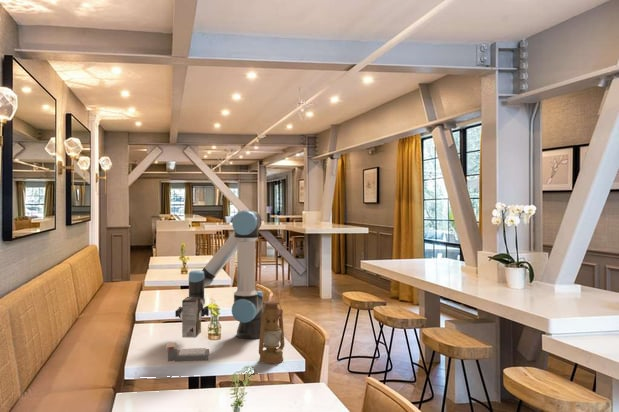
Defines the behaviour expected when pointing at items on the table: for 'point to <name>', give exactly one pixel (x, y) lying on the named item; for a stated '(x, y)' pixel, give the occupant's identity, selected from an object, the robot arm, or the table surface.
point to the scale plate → (192, 352)
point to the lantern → (271, 333)
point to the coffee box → (191, 317)
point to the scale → (174, 356)
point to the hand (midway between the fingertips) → (190, 317)
